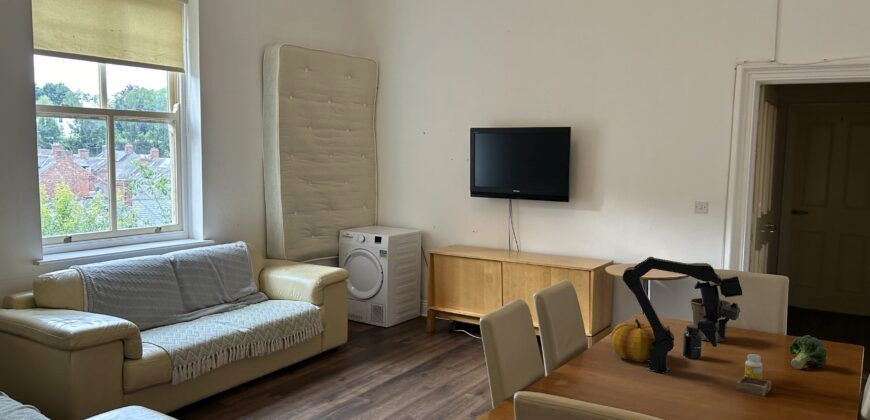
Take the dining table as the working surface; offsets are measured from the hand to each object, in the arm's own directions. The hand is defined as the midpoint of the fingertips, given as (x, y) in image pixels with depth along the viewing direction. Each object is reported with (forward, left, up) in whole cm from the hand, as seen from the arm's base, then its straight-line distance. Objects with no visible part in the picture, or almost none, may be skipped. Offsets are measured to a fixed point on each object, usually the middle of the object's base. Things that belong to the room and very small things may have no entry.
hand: (719, 342), depth 233 cm
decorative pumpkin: (-2, +30, -12) cm, 33 cm away
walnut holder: (-5, -14, -12) cm, 19 cm away
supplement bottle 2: (+2, -11, -12) cm, 17 cm away
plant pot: (+46, +25, -12) cm, 54 cm away
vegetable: (+36, -17, -12) cm, 42 cm away
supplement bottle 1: (+15, +17, -12) cm, 26 cm away
